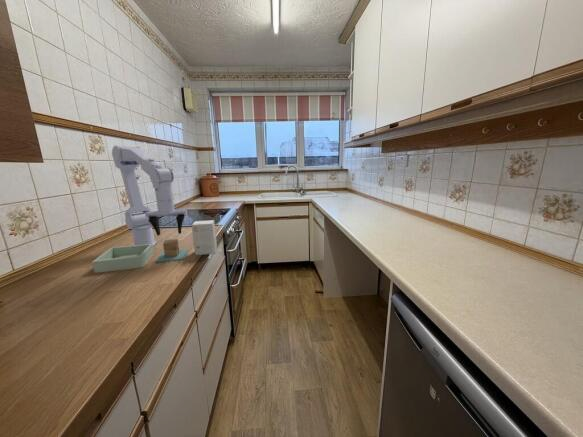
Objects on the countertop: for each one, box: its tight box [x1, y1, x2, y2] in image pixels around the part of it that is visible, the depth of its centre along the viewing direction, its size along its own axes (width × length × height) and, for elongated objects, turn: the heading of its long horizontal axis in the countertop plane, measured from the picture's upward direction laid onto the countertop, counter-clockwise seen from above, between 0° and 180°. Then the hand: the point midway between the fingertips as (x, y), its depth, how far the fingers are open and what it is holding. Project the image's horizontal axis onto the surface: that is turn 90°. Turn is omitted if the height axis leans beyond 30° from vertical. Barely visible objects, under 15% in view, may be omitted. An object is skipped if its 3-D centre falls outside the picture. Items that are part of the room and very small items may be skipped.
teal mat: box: [155, 249, 188, 263], centre depth 98 cm, size 10×10×1 cm
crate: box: [91, 244, 155, 274], centre depth 93 cm, size 15×15×4 cm
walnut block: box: [162, 238, 180, 258], centre depth 98 cm, size 4×4×6 cm
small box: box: [191, 219, 218, 256], centre depth 101 cm, size 8×6×13 cm
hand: (169, 233), depth 96 cm, fingers open, 7 cm apart
